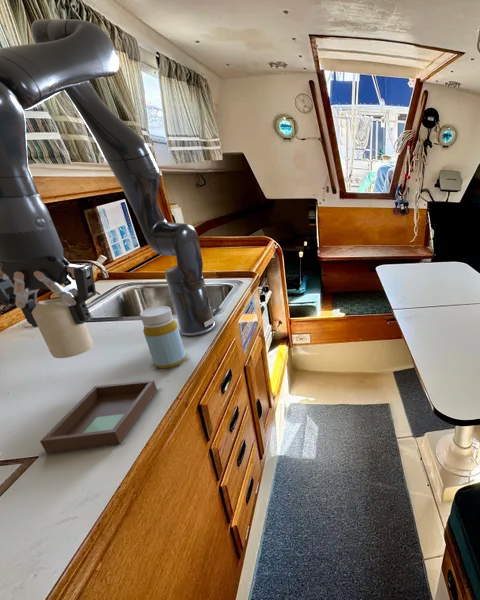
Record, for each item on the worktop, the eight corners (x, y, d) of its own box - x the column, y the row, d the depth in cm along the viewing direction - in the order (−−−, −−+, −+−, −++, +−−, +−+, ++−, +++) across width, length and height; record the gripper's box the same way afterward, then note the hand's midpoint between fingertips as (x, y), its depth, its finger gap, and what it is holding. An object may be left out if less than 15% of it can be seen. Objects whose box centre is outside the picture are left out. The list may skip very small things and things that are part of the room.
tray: (99, 396, 73) (94, 385, 71) (157, 390, 75) (154, 380, 74) (46, 453, 59) (39, 441, 57) (120, 444, 61) (114, 431, 60)
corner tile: (97, 417, 66) (96, 417, 66) (134, 413, 68) (134, 412, 67) (74, 444, 60) (73, 443, 60) (116, 438, 61) (116, 438, 61)
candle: (92, 339, 62) (73, 291, 58) (95, 350, 58) (74, 300, 54) (52, 349, 58) (28, 299, 54) (52, 362, 55) (26, 309, 51)
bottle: (151, 372, 81) (134, 319, 75) (158, 357, 87) (142, 307, 81) (184, 366, 84) (169, 314, 78) (188, 352, 90) (174, 303, 84)
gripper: (89, 221, 54) (121, 311, 61) (-17, 222, 51) (29, 316, 58) (56, 230, 47) (96, 330, 54) (-68, 232, 44) (-9, 337, 51)
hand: (61, 323), depth 56 cm, fingers closed on candle, 5 cm apart
